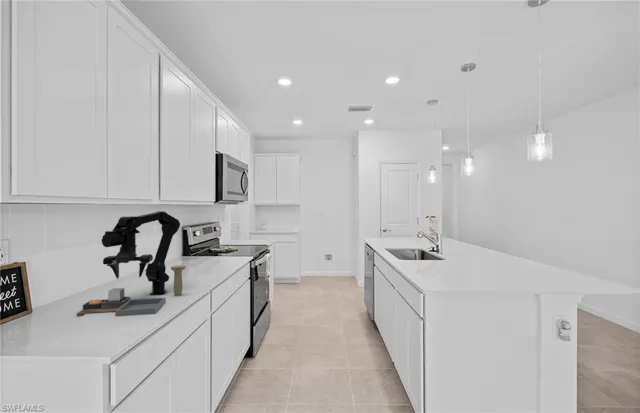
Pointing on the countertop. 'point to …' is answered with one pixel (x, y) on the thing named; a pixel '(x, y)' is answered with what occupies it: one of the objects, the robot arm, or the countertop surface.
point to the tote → (140, 307)
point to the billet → (116, 295)
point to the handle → (178, 279)
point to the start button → (95, 302)
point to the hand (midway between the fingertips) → (129, 277)
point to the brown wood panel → (102, 307)
